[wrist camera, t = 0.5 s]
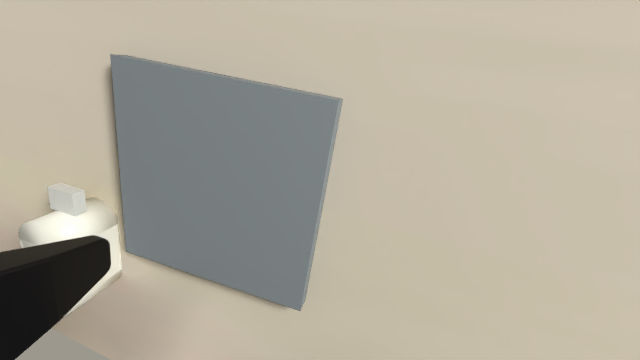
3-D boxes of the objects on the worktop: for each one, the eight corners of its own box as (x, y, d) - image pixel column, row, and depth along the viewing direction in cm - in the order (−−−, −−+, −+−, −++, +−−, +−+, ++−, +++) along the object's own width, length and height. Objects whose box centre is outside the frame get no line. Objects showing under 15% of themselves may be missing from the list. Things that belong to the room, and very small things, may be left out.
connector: (123, 285, 30) (72, 323, 26) (90, 273, 31) (35, 308, 26) (114, 184, 26) (52, 207, 22) (76, 173, 27) (8, 193, 22)
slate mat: (305, 300, 25) (300, 311, 24) (137, 244, 28) (126, 251, 27) (342, 98, 19) (338, 100, 18) (125, 55, 22) (110, 54, 21)
